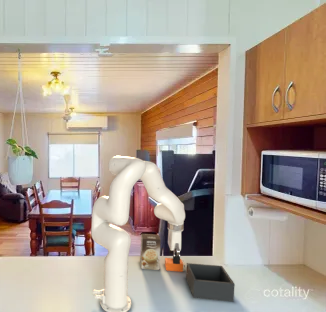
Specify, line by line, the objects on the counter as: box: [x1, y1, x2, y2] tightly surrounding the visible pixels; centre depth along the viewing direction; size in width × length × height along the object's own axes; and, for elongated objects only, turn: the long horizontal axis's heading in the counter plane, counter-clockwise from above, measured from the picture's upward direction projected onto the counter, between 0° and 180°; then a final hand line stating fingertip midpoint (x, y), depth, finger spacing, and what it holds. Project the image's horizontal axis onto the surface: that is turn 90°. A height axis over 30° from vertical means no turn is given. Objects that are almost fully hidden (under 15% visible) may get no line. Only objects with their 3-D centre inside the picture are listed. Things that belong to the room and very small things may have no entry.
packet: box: [164, 257, 186, 273], centre depth 124 cm, size 9×5×4 cm, turn 81°
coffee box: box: [139, 233, 162, 271], centre depth 125 cm, size 9×6×16 cm
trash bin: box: [185, 262, 236, 303], centre depth 107 cm, size 16×14×8 cm
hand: (174, 258), depth 124 cm, fingers open, 9 cm apart
